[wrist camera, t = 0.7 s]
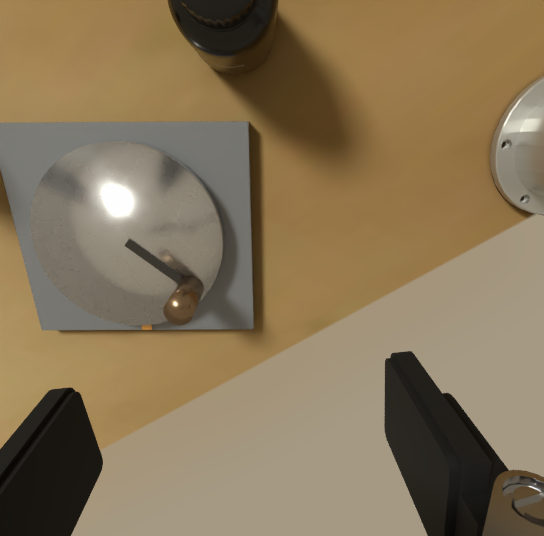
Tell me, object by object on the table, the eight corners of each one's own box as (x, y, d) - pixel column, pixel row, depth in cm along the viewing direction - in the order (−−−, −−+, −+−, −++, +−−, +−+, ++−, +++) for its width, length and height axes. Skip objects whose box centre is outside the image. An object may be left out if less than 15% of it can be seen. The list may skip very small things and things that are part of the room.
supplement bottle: (218, 92, 31) (188, 67, 20) (176, 7, 29) (116, -73, 18) (290, 51, 30) (301, 2, 19) (252, -39, 28) (239, -156, 17)
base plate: (249, 122, 32) (247, 121, 30) (254, 322, 39) (253, 329, 37) (1, 123, 32) (-13, 122, 30) (50, 323, 39) (40, 331, 37)
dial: (8, 248, 34) (-49, 273, 28) (100, 96, 30) (55, 86, 24) (159, 347, 38) (137, 388, 32) (261, 225, 33) (258, 246, 27)
